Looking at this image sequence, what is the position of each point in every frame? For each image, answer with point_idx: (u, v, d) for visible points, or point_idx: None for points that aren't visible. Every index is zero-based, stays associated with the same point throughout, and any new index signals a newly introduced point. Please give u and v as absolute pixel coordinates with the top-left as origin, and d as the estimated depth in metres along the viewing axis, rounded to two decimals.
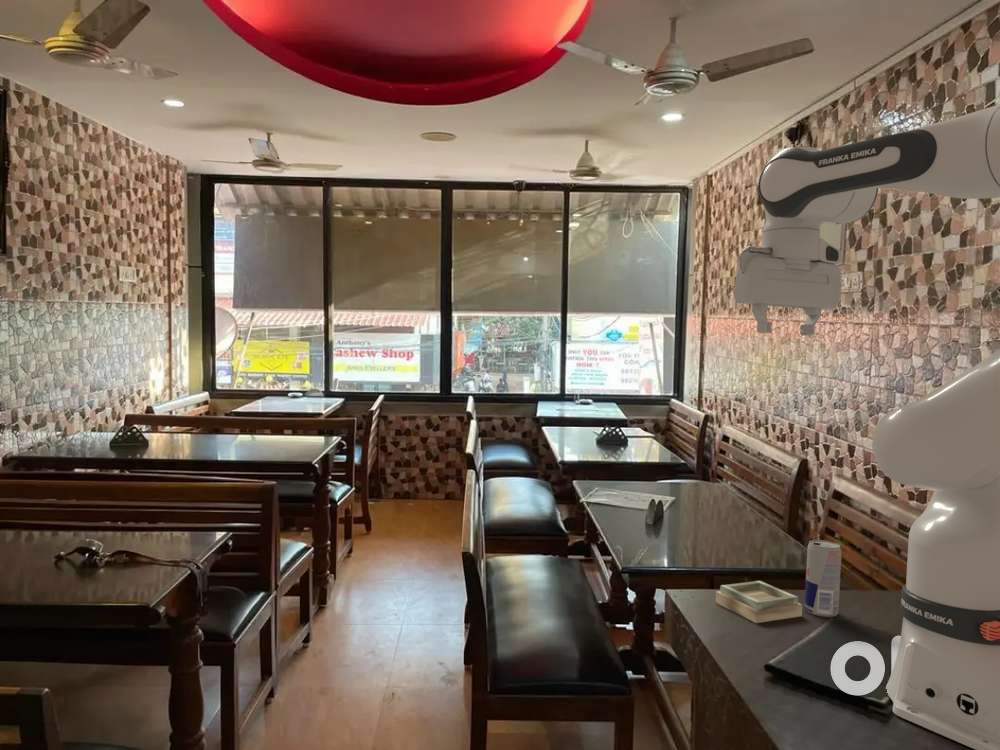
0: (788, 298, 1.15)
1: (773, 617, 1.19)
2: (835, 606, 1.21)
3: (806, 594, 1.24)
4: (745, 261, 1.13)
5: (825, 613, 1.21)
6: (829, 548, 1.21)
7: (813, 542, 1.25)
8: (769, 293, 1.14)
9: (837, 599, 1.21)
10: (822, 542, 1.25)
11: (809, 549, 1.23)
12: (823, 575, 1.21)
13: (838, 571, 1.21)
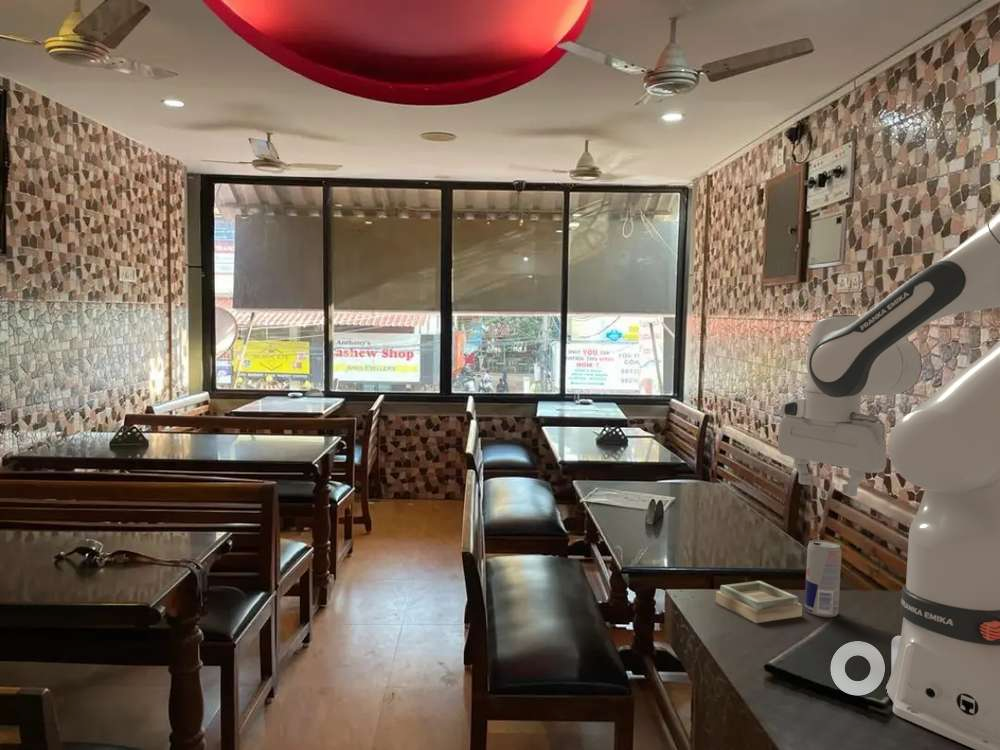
0: None
1: (773, 617, 1.19)
2: (835, 606, 1.21)
3: (806, 594, 1.24)
4: None
5: (825, 613, 1.21)
6: (829, 548, 1.21)
7: (813, 542, 1.25)
8: None
9: (837, 599, 1.21)
10: (822, 542, 1.25)
11: (809, 549, 1.23)
12: (823, 575, 1.21)
13: (838, 571, 1.21)
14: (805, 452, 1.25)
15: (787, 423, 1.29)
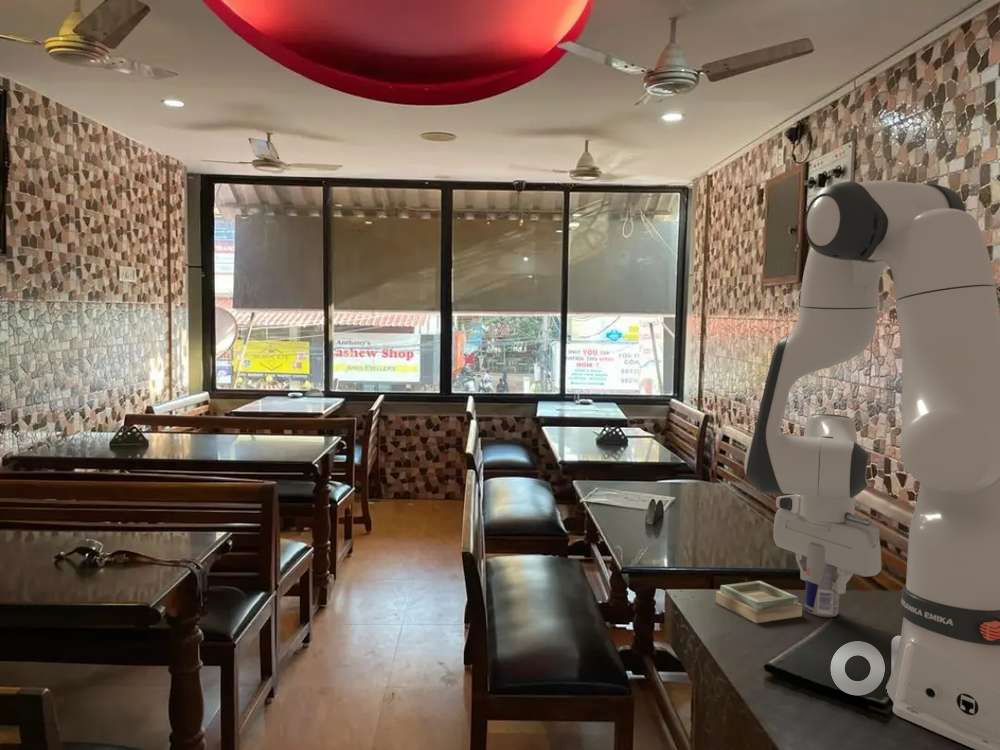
0: None
1: (773, 617, 1.19)
2: (835, 606, 1.21)
3: (806, 594, 1.24)
4: None
5: (825, 613, 1.21)
6: None
7: None
8: None
9: (837, 599, 1.21)
10: None
11: (809, 549, 1.23)
12: (823, 575, 1.21)
13: None
14: (800, 547, 1.26)
15: (783, 516, 1.29)
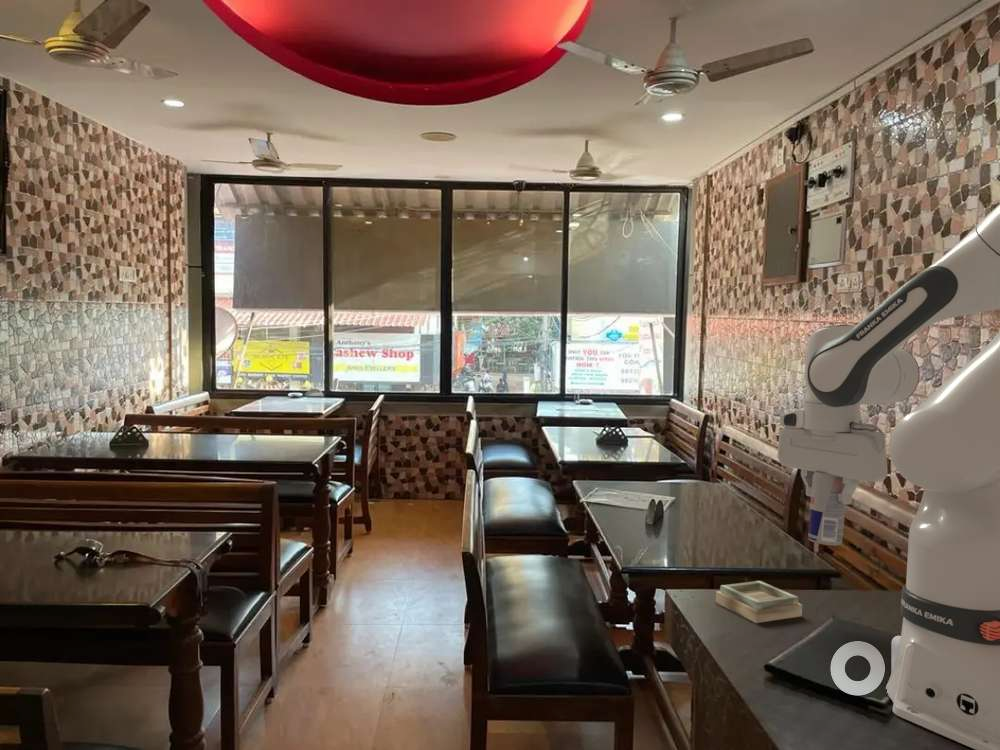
0: None
1: (773, 617, 1.19)
2: (840, 535, 1.21)
3: (810, 523, 1.23)
4: None
5: (829, 541, 1.20)
6: None
7: None
8: None
9: (841, 527, 1.21)
10: None
11: (814, 477, 1.23)
12: (828, 503, 1.20)
13: None
14: (805, 463, 1.25)
15: (787, 434, 1.29)
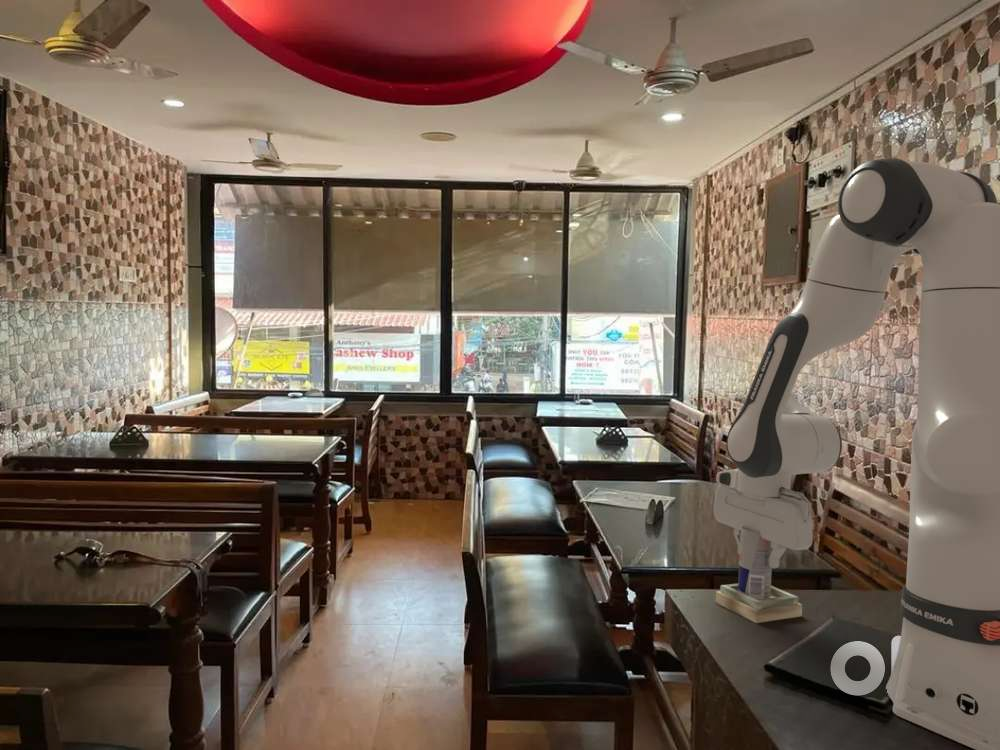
0: None
1: (773, 617, 1.19)
2: (767, 591, 1.22)
3: (739, 579, 1.24)
4: None
5: (756, 598, 1.21)
6: None
7: None
8: None
9: (768, 584, 1.22)
10: None
11: (741, 534, 1.24)
12: (754, 560, 1.21)
13: None
14: (737, 522, 1.26)
15: (722, 491, 1.30)
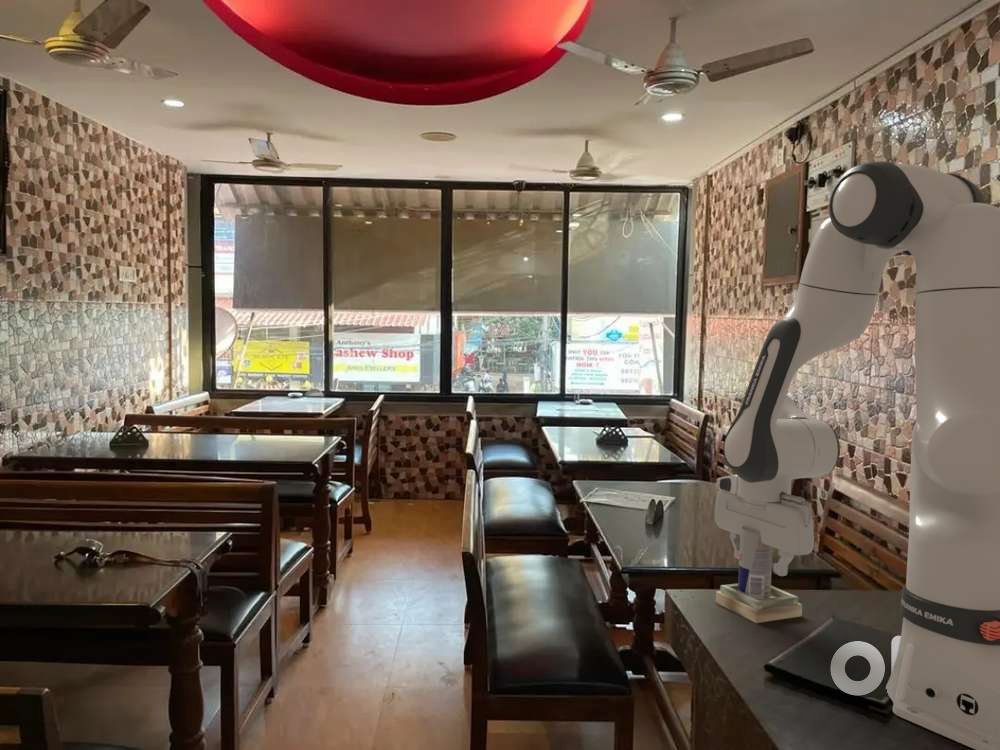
0: None
1: (773, 617, 1.19)
2: (767, 591, 1.22)
3: (739, 579, 1.24)
4: None
5: (756, 598, 1.21)
6: None
7: None
8: None
9: (768, 584, 1.22)
10: None
11: (741, 534, 1.24)
12: (754, 560, 1.21)
13: (769, 556, 1.22)
14: (739, 528, 1.26)
15: (723, 497, 1.29)
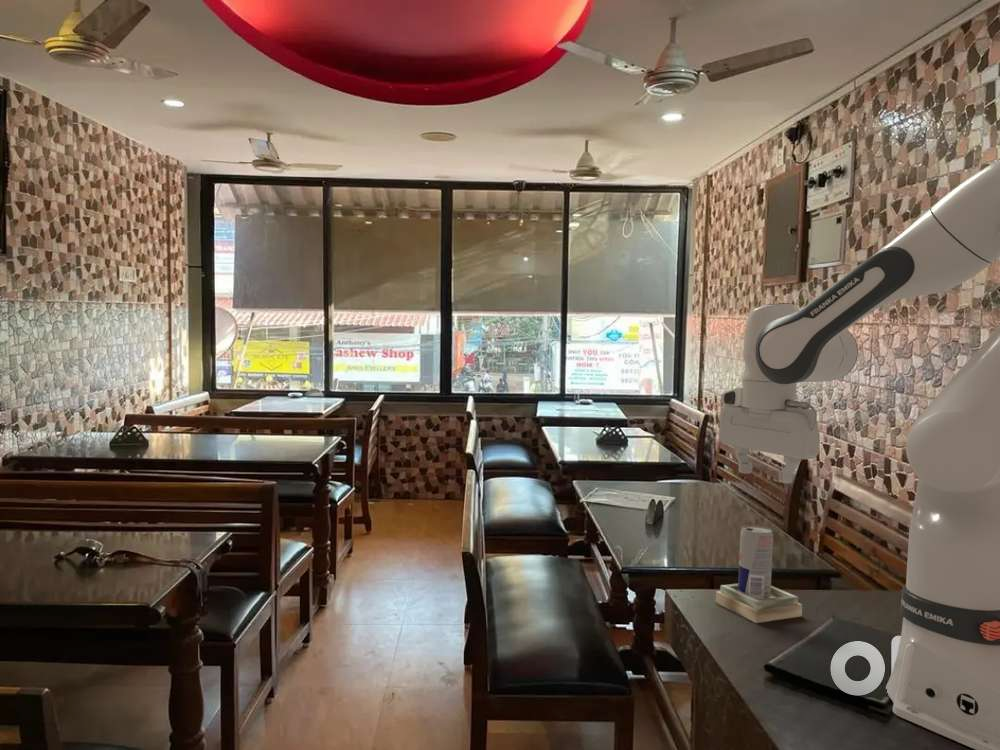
0: None
1: (773, 617, 1.19)
2: (767, 591, 1.22)
3: (739, 579, 1.24)
4: None
5: (756, 598, 1.21)
6: (760, 533, 1.21)
7: (746, 528, 1.25)
8: None
9: (768, 584, 1.22)
10: (755, 528, 1.25)
11: (741, 534, 1.24)
12: (754, 560, 1.21)
13: (769, 556, 1.22)
14: (743, 441, 1.25)
15: (727, 412, 1.29)
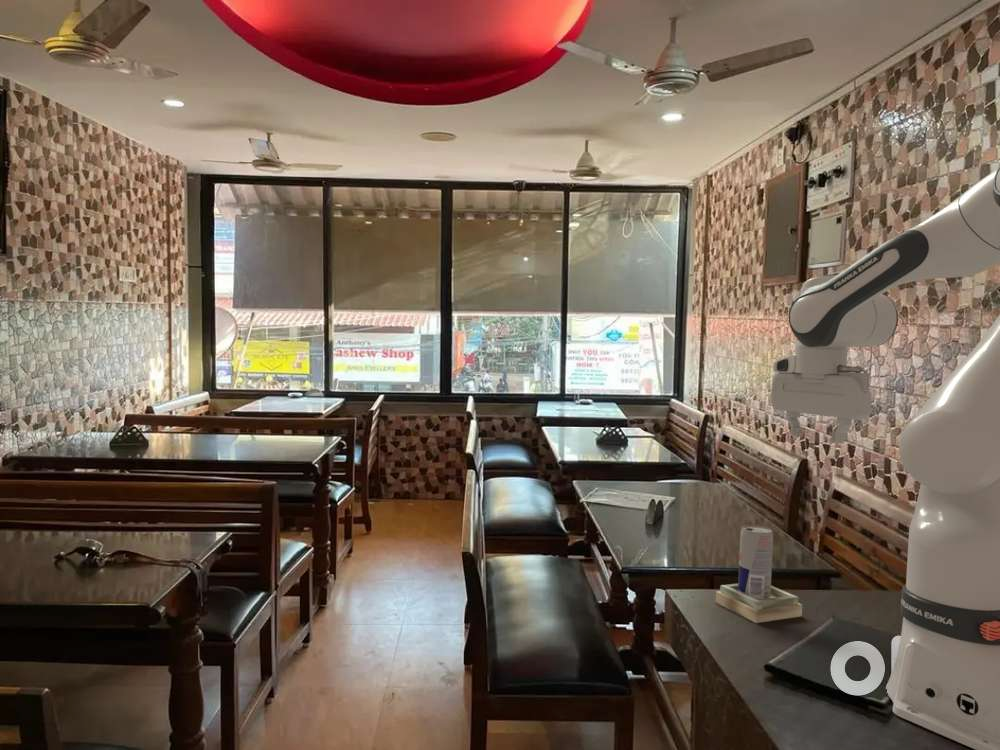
0: None
1: (773, 617, 1.19)
2: (767, 591, 1.22)
3: (739, 579, 1.24)
4: None
5: (756, 598, 1.21)
6: (760, 533, 1.21)
7: (746, 528, 1.25)
8: None
9: (768, 584, 1.22)
10: (755, 528, 1.25)
11: (741, 534, 1.24)
12: (754, 560, 1.21)
13: (769, 556, 1.22)
14: (796, 405, 1.34)
15: (779, 379, 1.37)
